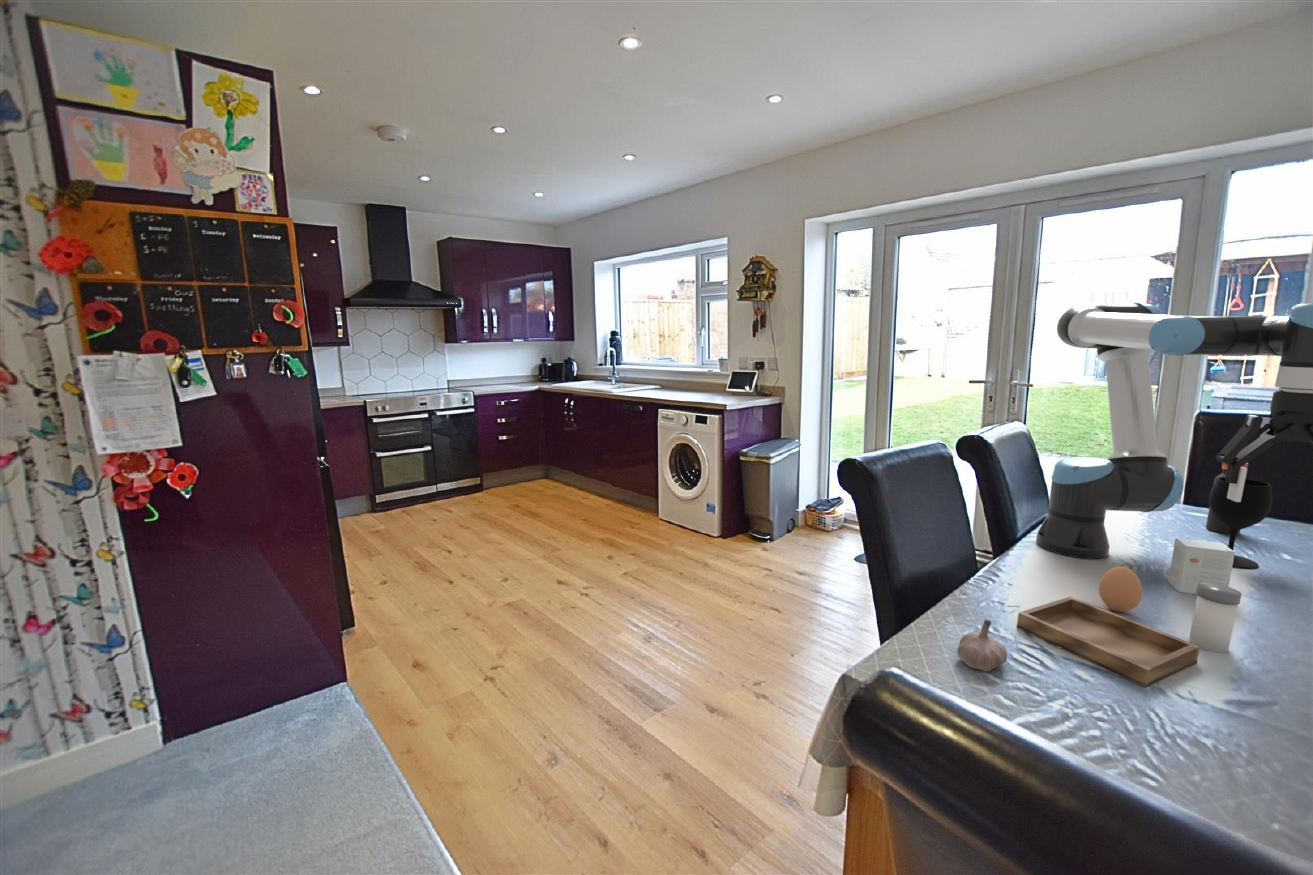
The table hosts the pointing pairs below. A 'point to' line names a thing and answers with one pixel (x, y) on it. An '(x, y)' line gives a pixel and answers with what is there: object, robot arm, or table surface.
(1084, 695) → the table surface
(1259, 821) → the table surface
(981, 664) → the garlic bulb
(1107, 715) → the table surface
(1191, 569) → the small box
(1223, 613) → the shaker
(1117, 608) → the egg
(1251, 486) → the wine glass
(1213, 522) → the bottle
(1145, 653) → the tray
